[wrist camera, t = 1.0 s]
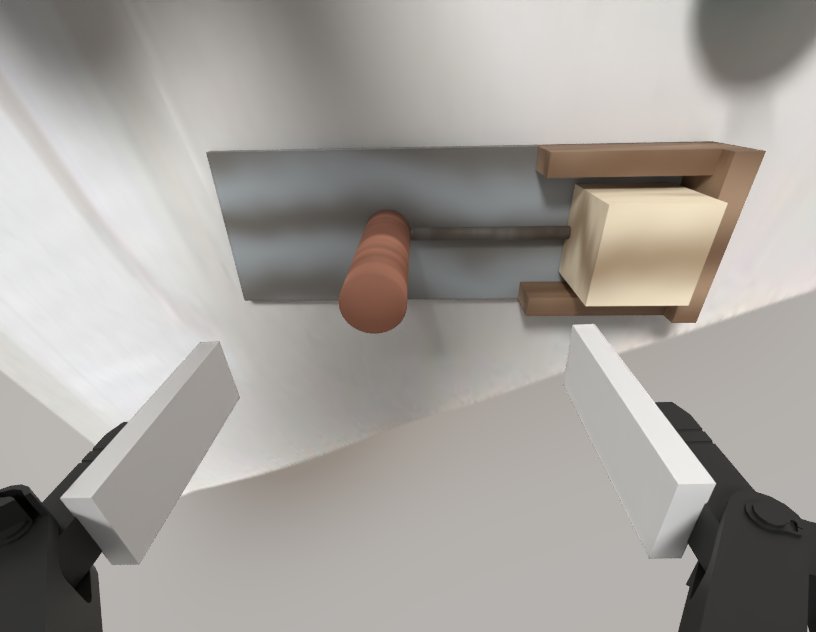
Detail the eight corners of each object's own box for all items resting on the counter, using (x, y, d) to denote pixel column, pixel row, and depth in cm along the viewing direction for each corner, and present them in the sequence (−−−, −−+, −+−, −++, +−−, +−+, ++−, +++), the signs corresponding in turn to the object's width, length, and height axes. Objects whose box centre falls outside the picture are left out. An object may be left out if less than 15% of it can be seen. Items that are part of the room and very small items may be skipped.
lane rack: (211, 151, 29) (175, 161, 25) (712, 141, 28) (765, 151, 24) (248, 296, 35) (224, 325, 31) (660, 293, 34) (695, 322, 30)
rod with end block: (361, 187, 29) (330, 241, 19) (671, 182, 29) (815, 235, 18) (368, 273, 33) (345, 358, 22) (644, 270, 32) (752, 357, 22)
